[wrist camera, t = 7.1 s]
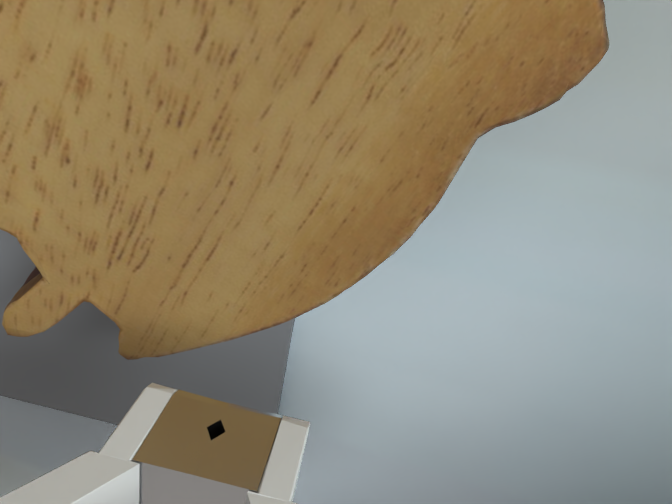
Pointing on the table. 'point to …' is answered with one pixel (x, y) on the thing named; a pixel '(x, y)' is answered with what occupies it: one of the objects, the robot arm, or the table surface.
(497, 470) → the table surface
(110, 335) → the placemat
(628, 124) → the table surface
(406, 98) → the wooden carving
